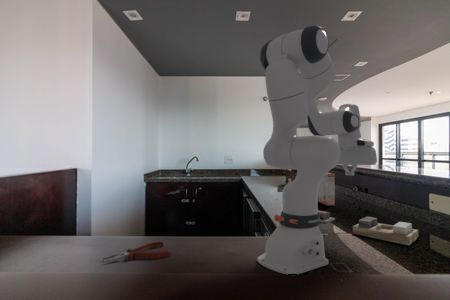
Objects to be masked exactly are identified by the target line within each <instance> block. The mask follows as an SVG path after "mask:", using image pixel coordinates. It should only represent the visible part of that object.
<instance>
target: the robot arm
mask: <svg viewBox="0 0 450 300" xmlns="http://www.w3.org/2000/svg"><path fill="white" fill-rule="evenodd" d="M329 44H330V43H329V38H328V34H327V33H326V30H325V29H324V28H323V27H321V26H319V25H309V26H306V27H304V28H301V29H297V30H294V31H291V32H290V31H289V32H286V33H284V34H282V35H279V36H278V37H275V38H274V39H271V40H269V41H267V42H266V43H265V44H264V45H262V47H261V49H260V54H259V58H260V59H259V60H260V63H261V65H262V66H261V67H262V68H263V69H264V70H265V75H264V77H265V78H264V79H265V87H266V94H267V99H268V103H269V107H270V112H271V117H272V125H273V126H272V132H271V136H270V138H269V139H268V141H267V142H266V143H265V145H264V147H263V151H262V152H263V153H262V154H263V159H264V162H265V163H266V165H267V166H269V167H271V168H275V169H279V170H295V171H296V170H297V171H296V175H295V178H294V180H291V181H289V182H288V183H286V184H285V185H284V187H283V188H282V193H281V194H282V211H281V212H280V214H274V217H273V220H274V221H275V222H278V223H279V224H278V225H277V227H276V228H275V230H274V231H273V232H272V233H271V234H270V236H269V237H268V238H267V240H266V242H265V248H264V253H262V254H261V255H259V256H257V260H256V261H257V262H258V263H259V264H260V266H261V265H262V266H263V267H265V268H267V269H269V270H271V271H274V272H276V273H281V274H285V275H288V274H297V275H300V274H303V273H306V272H309V271H312V270H315V269H319V268H321V267H324V266H327V265H330V264H329V259H328V258H327V257H326V254H325V245H324V236H323V233H322V232H321V230H320V227H319V225H320V222H319V220H320V217H319V213H318V211H319V207H318V203H319V202H318V190H319V186H320V183H321V181H322V179H323V177H324V176H325V175H326V174H327V173H330V171H331V170H332V169H334V168H335V167H336V166H337V165H342V168H343V170H344V172H345V176H355V172H356V170H357V168H358V166H360V165H361V166H363V165H364V166H375V165H376V164H377V163H378V156H377V151H376V149H375V147H374V145H375V143H374V141H372V140H368V139H366V138H365V139H364V138H362V133H361V131H360V129H361V122H362V121H361V114H360V113H361V112H360V109H359V106H358V105H357V104H354V103H345V104H342V105H340V106H339V107H338V110H334V111H327V112H321V111H320V110H319V107H318V104H317V100H316V98H317V97H318V96H319V95H321V94H323V93H325V92H326V91H327V90H329V88H330V87H331V86H333V84H334V83H335V80H336V75H337V73H336V68H335V65H334V63H333V60H332V58H331V56H330V54H329V52H328V51H329V47H330V46H329ZM306 121H307V125H308V126H307V127H308V131H309V132H310V133H311V135H304V136H303V135H300V136H298V132H297V131H298V128H299V127H301V126H302V125H303V124H304V123H305V122H306ZM334 135H335V136H336V135H337V140H336V139H335V138H333V137H331V136H334ZM350 165H351V170H349V169H348V168H349V166H350Z"/></svg>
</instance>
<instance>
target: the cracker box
mask: <svg viewBox="0 0 450 300" xmlns="http://www.w3.org/2000/svg"><path fill="white" fill-rule="evenodd" d="M335 184H336V183H335V173H332V172H327V174H326V175H325V176H324V177H323V179H322V181H321V183H320V186H319V190H318V203H320V204H322V205H325V206H328V207H329V206H334V207H335V205H336V204H335V203H336V195H335V194H336V191H335V189H336V187H335V186H336V185H335Z"/></svg>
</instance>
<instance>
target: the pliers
mask: <svg viewBox="0 0 450 300" xmlns="http://www.w3.org/2000/svg"><path fill="white" fill-rule="evenodd" d="M159 248H164V242H163V241H155V242H150V243H147V244H144V245H141V246H138V247H135V248H134V249H133V248H132V249H131V248H128V249H127V250H126V252H120V253H117V254H113V255H109V256H106V257H103V258H102V260H103V263H113V262H123V261H126V260H129V261H130V262H132V261H133V260H156V259H157V260H158V259H164V258H167V257H170V256H172V253H171V250H170V249H163V250H159V251H149V250H153V249H154V250H155V249H159Z"/></svg>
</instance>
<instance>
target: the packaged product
mask: <svg viewBox="0 0 450 300" xmlns="http://www.w3.org/2000/svg"><path fill="white" fill-rule="evenodd" d="M318 213H319V217H320V220H319V223H323V224H327V223H332V222H333V221H336V219H335V217H331V216H330V215H331V212H329V211H323V210H318Z"/></svg>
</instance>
